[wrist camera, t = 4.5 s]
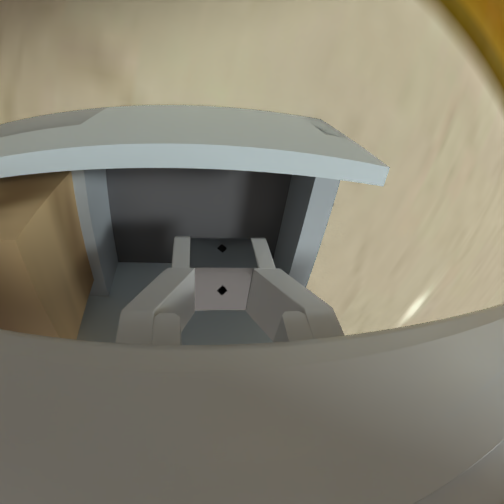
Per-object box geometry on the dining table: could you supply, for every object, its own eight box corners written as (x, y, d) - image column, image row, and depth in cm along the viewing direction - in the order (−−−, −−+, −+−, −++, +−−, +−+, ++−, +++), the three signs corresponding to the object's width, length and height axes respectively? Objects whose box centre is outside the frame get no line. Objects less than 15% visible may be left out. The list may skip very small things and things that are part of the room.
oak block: (71, 170, 8) (15, 239, 5) (94, 279, 11) (72, 359, 8) (-37, 183, 7) (-91, 241, 4) (-5, 274, 10) (-36, 337, 7)
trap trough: (321, 119, 11) (389, 167, 7) (285, 265, 16) (313, 346, 12) (-89, 155, 6) (-139, 201, 2) (-57, 257, 11) (-90, 311, 7)
